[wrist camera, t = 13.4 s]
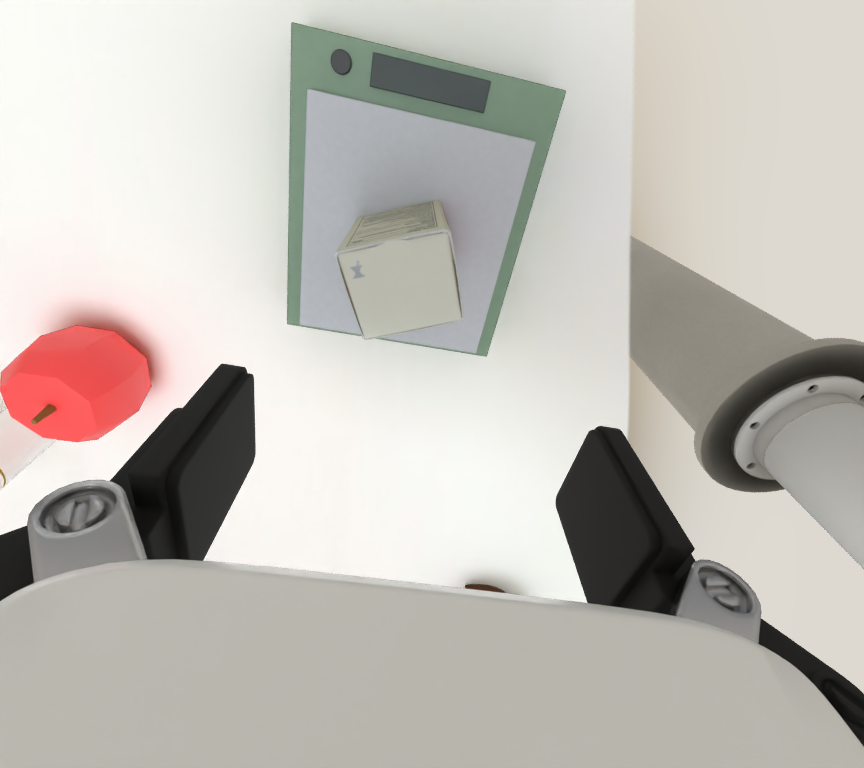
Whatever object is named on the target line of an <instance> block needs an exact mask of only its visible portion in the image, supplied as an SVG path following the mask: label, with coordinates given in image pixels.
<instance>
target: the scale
mask: <svg viewBox="0 0 864 768" xmlns="http://www.w3.org/2000/svg"><path fill="white" fill-rule="evenodd" d="M565 93H566V90H562V89H558V88H554V87H550V86H546V85H542V84H538V83H534V82H530V81H526V80H522V79H518V78H514V77H510V76H506V75H502V74H498V73H494V72H490V71H486V70H482V69H478V68H474V67H470V66H466V65H462V64H458V63H454V62H450V61H446V60H442V59H438V58H434V57H430V56H426V55H422V54H418V53H414V52H410V51H406V50H402V49H398V48H394V47H390V46H386V45H382V44H378V43H374V42H370V41H366V40H362V39H358V38H354V37H350V36H346V35H341V34H337V33H333V32H329V31H325V30H321V29H317V28H313V27H309V26H305V25H301V24H297V23H293V22H292V23H291V90H290V158H289V226H288V295H287V324H290V325H296V326H302V327H308V328H315V329H321V330H327V331H333V332H339V333H345V334H351V335H357V336H362V335H361V332H360V329H359V326H358V324H357V321H356V318H355V315H354V313H353V310H352V307H351V304H350V301H349V298H348V295H347V293H346V289H345V286H344V283H343V279H342V276H341V274H340V270H339V266H338V263H337V260H336V257H335V253H336V251H337V250H338V248H339V247H340V245H341V243H342V242H343V240H344V239H345V237H346V235H347V234H348V232H349V231H350V229H351V227H352V226H353V224H354V223H355V221H356V219H357V218H359V217H362V216H367V215H371V214H375V213H379V212H383V211H388V210H392V209H396V208H401V207H405V206H410V205H414V204H419V203H424V202H429V201H434V200H439V201H440V202H441V203H442V206H443V209H444V213H445V217H446V220H447V223H448V226H449V229H450V231H451V235H452V240H453V246H454V251H455V257H456V263H457V269H458V276H459V282H460V290H461V297H462V305H463V313H464V319H463V320H462V321H460V322H455V323H450V324H446V325H441V326H437V327H432V328H427V329H423V330H418V331H412V332H407V333H402V334H397V335H391V336H386V337H379V338H376V339H382V340H388V341H394V342H400V343H406V344H413V345H419V346H425V347H431V348H437V349H443V350H449V351H455V352H462V353H468V354H474V355H480V356H487V354H488V350H489V347H490V344H491V340H492V337H493V334H494V330H495V327H496V324H497V320H498V317H499V314H500V310H501V307H502V304H503V300H504V297H505V294H506V290H507V287H508V284H509V280H510V277H511V273H512V270H513V267H514V263H515V260H516V257H517V253H518V250H519V247H520V243H521V240H522V237H523V233H524V230H525V227H526V223H527V220H528V217H529V213H530V210H531V207H532V203H533V200H534V197H535V193H536V190H537V187H538V183H539V180H540V177H541V173H542V170H543V167H544V163H545V160H546V157H547V153H548V150H549V147H550V143H551V140H552V137H553V133H554V130H555V127H556V123H557V120H558V117H559V113H560V110H561V107H562V103H563V100H564V97H565Z"/></svg>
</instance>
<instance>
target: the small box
mask: <svg viewBox="0 0 864 768" xmlns="http://www.w3.org/2000/svg"><path fill="white" fill-rule="evenodd" d="M335 257H336V260H337V263H338V266H339V270H340V274H341V276H342V279H343V283H344V286H345V289H346V293H347V295H348V298H349V301H350V304H351V307H352V310H353V313H354V315H355V318H356V321H357V324H358V326H359V329H360V332H361V335H362V337H363V338H364V339H373V338H379V337H386V336H391V335H397V334H402V333H407V332H412V331H418V330H423V329H427V328H432V327H437V326H441V325H446V324H450V323H455V322H460V321H462V320H463V319H464V313H463V305H462V297H461V290H460V282H459V276H458V269H457V263H456V257H455V251H454V246H453V240H452V235H451V231H450V229H449V226H448V223H447V220H446V217H445V213H444V209H443V206H442V203H441V202H440V201H439V200H434V201H429V202H424V203H419V204H414V205H410V206H405V207H401V208H396V209H392V210H388V211H383V212H379V213H375V214H371V215H367V216H362V217H359V218H357V219H356V221H355V223H354V224H353V226H352V227H351V229H350V231H349V232H348V234H347V235H346V237H345V239H344V240H343V242H342V243H341V245H340V247H339V248H338V250H337V251H336V253H335Z"/></svg>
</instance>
